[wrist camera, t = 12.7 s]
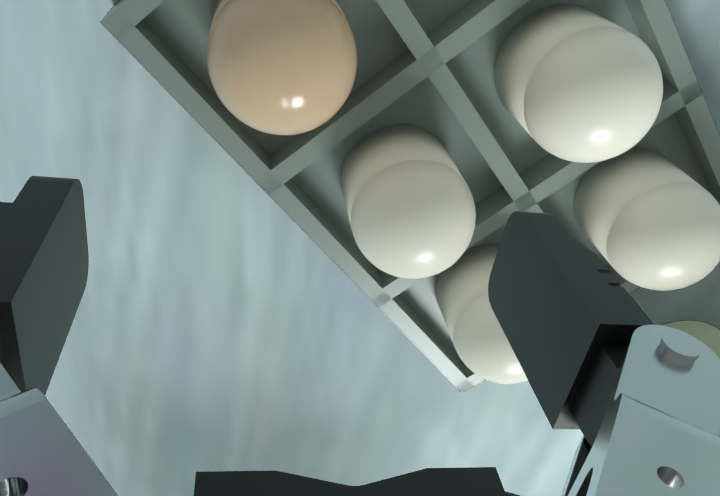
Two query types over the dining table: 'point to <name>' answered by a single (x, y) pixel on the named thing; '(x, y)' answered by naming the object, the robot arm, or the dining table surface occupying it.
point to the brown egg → (281, 62)
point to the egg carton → (475, 151)
